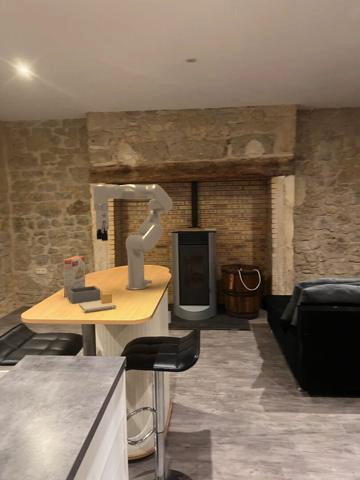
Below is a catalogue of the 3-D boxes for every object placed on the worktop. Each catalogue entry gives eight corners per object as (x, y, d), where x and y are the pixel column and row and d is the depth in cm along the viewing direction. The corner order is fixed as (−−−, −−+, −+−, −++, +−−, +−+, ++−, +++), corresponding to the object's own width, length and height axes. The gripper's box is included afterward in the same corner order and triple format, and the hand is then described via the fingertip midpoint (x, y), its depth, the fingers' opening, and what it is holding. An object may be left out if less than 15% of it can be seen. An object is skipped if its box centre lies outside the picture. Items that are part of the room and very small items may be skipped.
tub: (95, 296, 190) (94, 285, 189) (100, 301, 180) (100, 289, 179) (68, 300, 183) (67, 288, 182) (72, 305, 173) (72, 293, 173)
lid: (108, 302, 177) (108, 290, 177) (116, 308, 167) (115, 295, 166) (79, 307, 170) (78, 294, 170) (84, 313, 160) (84, 299, 160)
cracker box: (74, 298, 186) (72, 259, 184) (63, 298, 187) (62, 259, 185) (86, 292, 199) (85, 255, 197) (76, 292, 200) (75, 255, 199)
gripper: (113, 207, 182) (113, 240, 184) (103, 208, 197) (104, 238, 199) (98, 208, 179) (99, 241, 180) (90, 208, 194) (91, 239, 195)
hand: (102, 240), depth 190 cm, fingers open, 9 cm apart
